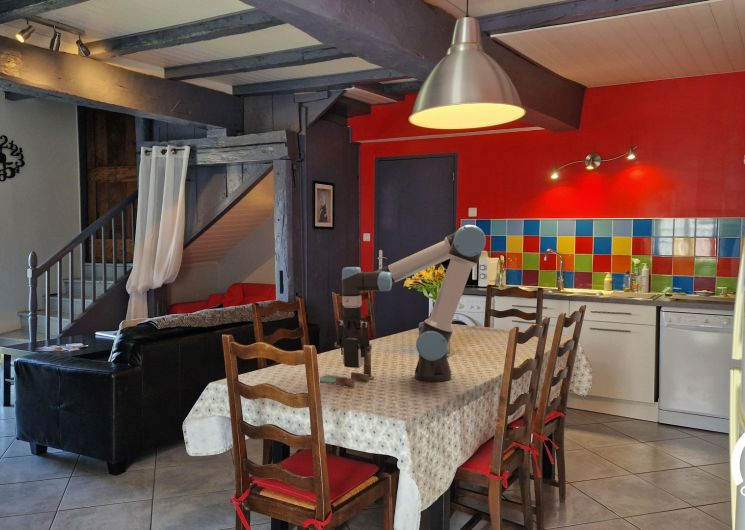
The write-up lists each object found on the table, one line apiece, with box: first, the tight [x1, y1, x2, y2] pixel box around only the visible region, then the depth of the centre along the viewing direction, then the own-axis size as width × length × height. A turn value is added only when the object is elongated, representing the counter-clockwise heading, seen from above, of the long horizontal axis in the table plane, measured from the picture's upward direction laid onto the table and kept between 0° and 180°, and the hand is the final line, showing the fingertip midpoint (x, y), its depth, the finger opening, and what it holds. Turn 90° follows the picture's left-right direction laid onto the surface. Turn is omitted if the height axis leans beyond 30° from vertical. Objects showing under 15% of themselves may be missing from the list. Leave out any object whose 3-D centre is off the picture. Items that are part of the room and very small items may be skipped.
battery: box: [343, 337, 362, 369], centre depth 251 cm, size 7×4×11 cm, turn 60°
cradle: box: [335, 350, 375, 389], centre depth 255 cm, size 8×19×12 cm, turn 146°
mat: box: [319, 374, 349, 385], centre depth 258 cm, size 10×10×1 cm
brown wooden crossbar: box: [333, 341, 373, 351], centre depth 263 cm, size 4×17×2 cm, turn 61°
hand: (353, 364), depth 252 cm, fingers closed on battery, 7 cm apart
